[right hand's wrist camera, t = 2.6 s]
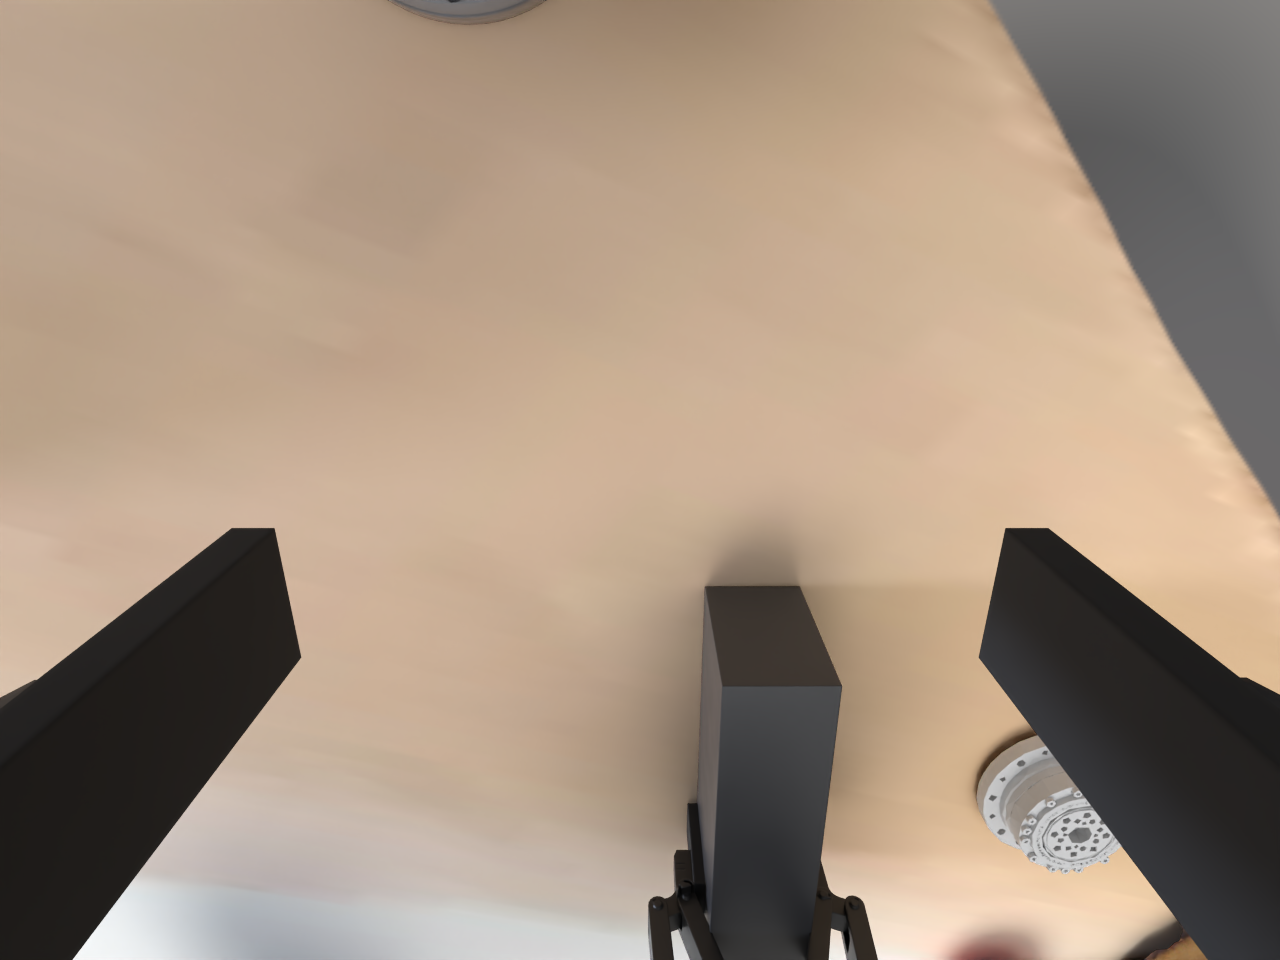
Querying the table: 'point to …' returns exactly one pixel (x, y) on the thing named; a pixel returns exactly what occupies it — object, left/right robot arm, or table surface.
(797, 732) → the box
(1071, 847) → the mechanical component
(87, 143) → the table surface
